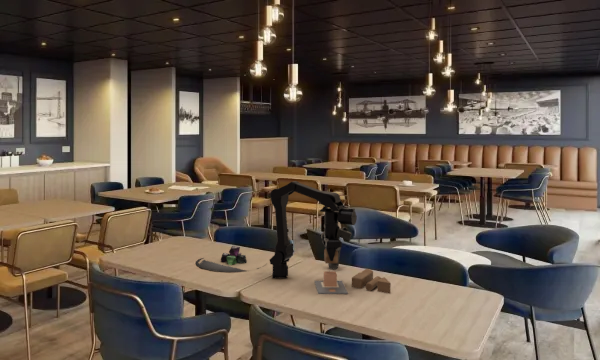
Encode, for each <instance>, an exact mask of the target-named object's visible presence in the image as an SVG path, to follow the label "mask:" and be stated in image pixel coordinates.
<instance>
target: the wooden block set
mask: <svg viewBox="0 0 600 360" xmlns="http://www.w3.org/2000/svg"><path fill="white" fill-rule="evenodd" d="M391 286H392V285H391V282H390V281H389V280H388V279H387V278H386V276H384V277H380V276H375V277H374V271H373V270H372V269H370V268H365V269H364V270H362V271H361V272H358V273H356V274H354V275H353V276H352V277H351V288H356V289H360V290H361V289H363V288H364V287H365V289H366V291H372V290H375V288H376V287H377V289H376V290H377V292H378V293H379V292H381V293H384V294H385V293H386V294H391Z"/></svg>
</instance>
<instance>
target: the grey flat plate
mask: <svg viewBox="0 0 600 360" xmlns="http://www.w3.org/2000/svg"><path fill="white" fill-rule="evenodd" d="M314 285H315V289H316V292H317V294H318V295H327V294H328V295H348V294H349V293H348V290H347V288H346V286H345V284H344V281H343V280H337V286H324V283H323V280H314Z"/></svg>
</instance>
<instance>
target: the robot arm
mask: <svg viewBox="0 0 600 360" xmlns="http://www.w3.org/2000/svg"><path fill="white" fill-rule="evenodd" d="M294 193H298V194H300V195H302V196H306V197H309V198H311V199H314V200H316V201H318V203H319V204H321V205H322V206H323V207H322V208H321V209H319V212H321V213H324V224H323V227H324V231H323V232H322V233H321V235H320V237H321V242H322V244H323V246H324V249H326V250H327V253H328V256H329V258H330V261H333V259H334V255H335V252H336V249H337V248H339V247H341V248H342V247H343V242H342V240H341V238H342V239H343V240H346V241H348V242H350V240H351V237H352V235H353V234H352V232H350V231H348V230H349V229H348V228H347V227H345V226H343V227H342V228H341V227H340V226H339V224H340V225H348V226H355V225H356V223H357V213H356V210H355V208H353V207H351V208H348V207H346V205H344V203H343V201H342V200H341V199H342V198H341V195H340V194H339V193H337V192H335V191H334V192H332V191H325V190H320V189H318V188H315V187H312V186H309V185H307V184H304V183H301V182H299V181H297V180H295V181H290V182H289V183H288V184H286V185H284V186H281V187H279V188H274V189H272V190H271V191H270V193H269V196H270V197H269V198H270V201H271V204H272V206H273V208H274V211H275V212H274V213H275V228H276V239H277V241H276V244H275V246H274V255H273V256H272V257H270V259H269V263H270V265H272V273H271V278H272V279H288V276H289V265H288V262H290V259H291V258H292V257H293V255H294V253H295V250H294V243H291V242H290V241H289V233H288V219H287V205H288V203H289V196H291V195H292V194H294ZM336 238H337V239H336ZM339 239H340V240H341V241H340V240H339Z"/></svg>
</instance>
